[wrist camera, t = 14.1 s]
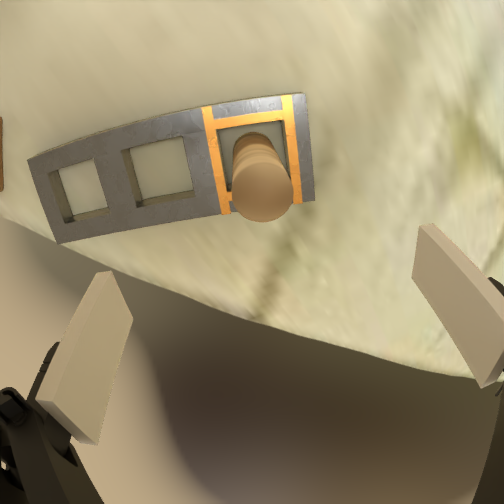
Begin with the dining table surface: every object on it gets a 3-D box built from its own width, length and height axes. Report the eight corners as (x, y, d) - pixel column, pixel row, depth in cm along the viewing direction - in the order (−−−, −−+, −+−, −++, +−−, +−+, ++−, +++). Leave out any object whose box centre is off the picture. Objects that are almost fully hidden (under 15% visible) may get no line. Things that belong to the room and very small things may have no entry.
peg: (230, 135, 33) (226, 169, 21) (270, 129, 33) (290, 160, 21) (236, 172, 36) (237, 226, 24) (275, 166, 35) (296, 217, 23)
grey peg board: (37, 154, 32) (25, 160, 30) (300, 92, 31) (305, 93, 29) (65, 235, 38) (56, 245, 36) (310, 192, 37) (315, 201, 35)
